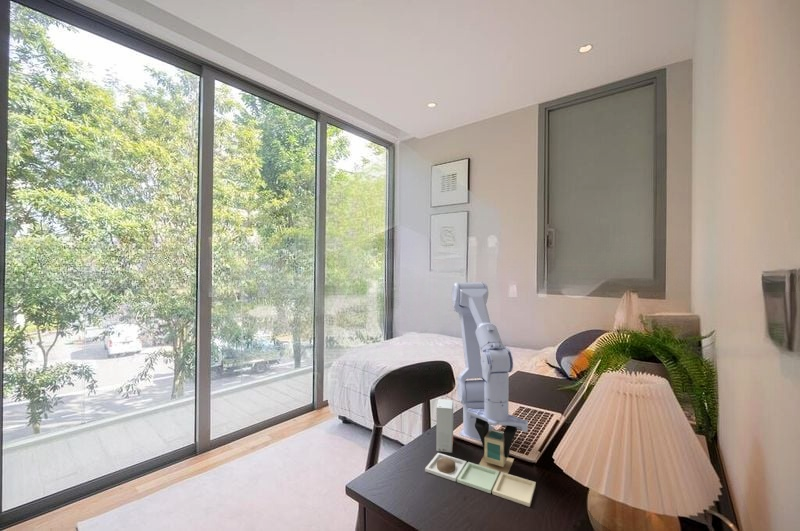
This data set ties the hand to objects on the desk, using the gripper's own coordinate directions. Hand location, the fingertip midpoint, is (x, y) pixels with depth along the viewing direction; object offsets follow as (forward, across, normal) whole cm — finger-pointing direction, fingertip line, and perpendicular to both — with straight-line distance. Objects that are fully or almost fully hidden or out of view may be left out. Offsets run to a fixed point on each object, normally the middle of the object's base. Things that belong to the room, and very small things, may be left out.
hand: (496, 452), depth 85 cm
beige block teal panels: (+2, 0, 0) cm, 2 cm away
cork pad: (+3, 0, 0) cm, 3 cm away
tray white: (+3, -10, -8) cm, 13 cm away
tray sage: (+3, -2, -8) cm, 9 cm away
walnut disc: (+2, -10, -8) cm, 13 cm away
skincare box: (+3, -14, +1) cm, 14 cm away
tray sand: (+3, +6, -8) cm, 10 cm away
